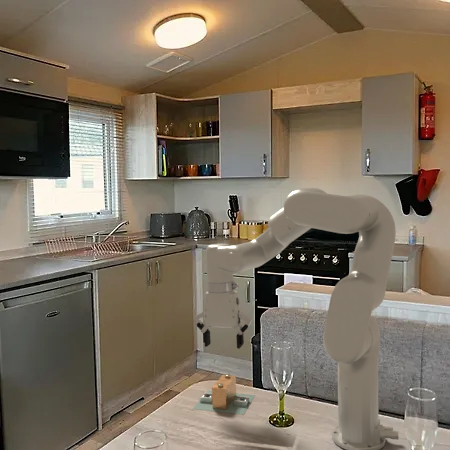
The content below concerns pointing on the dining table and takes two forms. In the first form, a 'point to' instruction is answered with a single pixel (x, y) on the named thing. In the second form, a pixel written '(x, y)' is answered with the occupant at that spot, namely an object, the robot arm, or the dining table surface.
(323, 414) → the dining table surface
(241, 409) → the board
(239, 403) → the chain ends
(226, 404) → the wooden block with studs
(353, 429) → the robot arm
